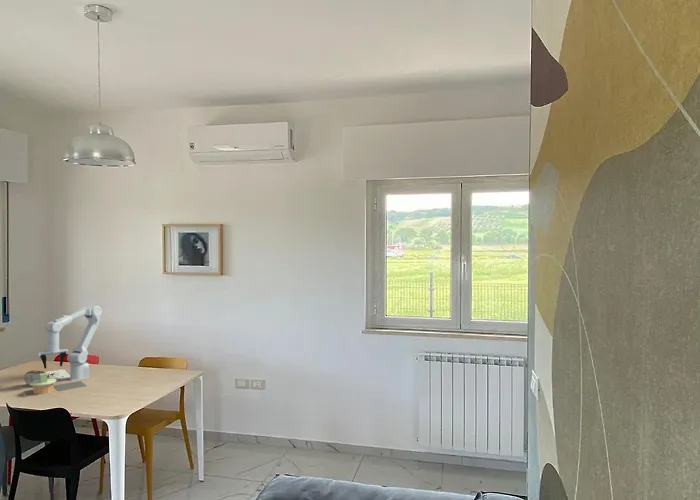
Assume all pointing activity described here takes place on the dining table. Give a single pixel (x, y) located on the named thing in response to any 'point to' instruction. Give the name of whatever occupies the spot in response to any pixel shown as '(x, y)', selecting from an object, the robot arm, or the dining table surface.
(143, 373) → the dining table surface
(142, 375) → the dining table surface
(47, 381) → the lid
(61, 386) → the mat
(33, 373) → the tin
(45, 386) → the bowl
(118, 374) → the dining table surface
